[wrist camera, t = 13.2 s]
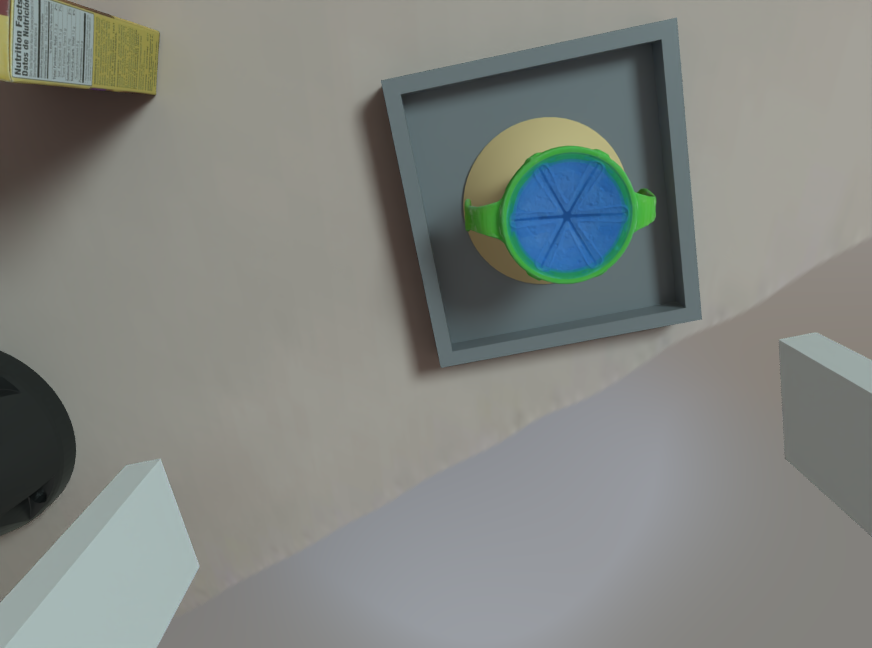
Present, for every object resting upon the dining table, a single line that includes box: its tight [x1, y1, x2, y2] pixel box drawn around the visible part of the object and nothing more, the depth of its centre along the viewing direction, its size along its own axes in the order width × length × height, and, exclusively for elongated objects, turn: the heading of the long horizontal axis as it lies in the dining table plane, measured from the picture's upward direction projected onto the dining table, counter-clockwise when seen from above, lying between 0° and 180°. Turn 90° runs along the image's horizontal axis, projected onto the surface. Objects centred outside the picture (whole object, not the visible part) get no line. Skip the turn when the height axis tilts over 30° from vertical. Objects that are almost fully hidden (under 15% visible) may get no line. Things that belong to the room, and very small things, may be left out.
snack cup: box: [464, 146, 656, 284], centre depth 39 cm, size 11×8×7 cm
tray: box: [381, 18, 702, 368], centre depth 42 cm, size 18×19×3 cm
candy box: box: [0, 0, 160, 95], centre depth 34 cm, size 9×4×15 cm, turn 79°
